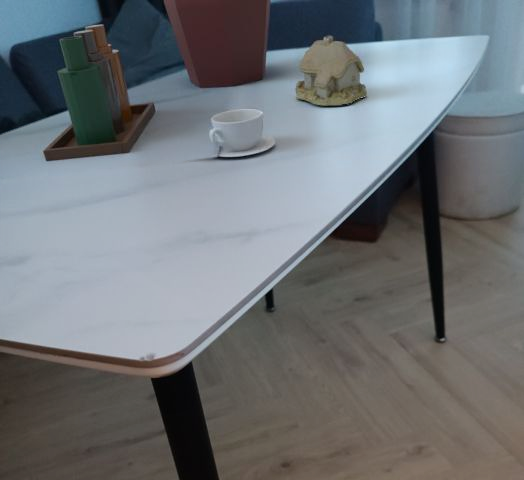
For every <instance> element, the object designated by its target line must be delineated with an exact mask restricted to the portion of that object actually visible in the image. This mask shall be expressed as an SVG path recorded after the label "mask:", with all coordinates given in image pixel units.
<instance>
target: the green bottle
mask: <svg viewBox="0 0 524 480" xmlns="http://www.w3.org/2000/svg"><path fill="white" fill-rule="evenodd" d="M59 44H60V49H61V51H62V55H63V58H64V63H65V66H66V67H65V68H61V69H59V70H57V74H58V78H59V81H60V85H61V88H62V89H61V90H62V93H63V96H64V100H65V104H66V107H67V111H68V115H69V119H70V121H71V124H72V126H73V129H74V133H75V137H76V140H77V143H78V146H83V145H93V144H103V143H113V142H117V140H116V134H115V130H114V126H113V121H112V117H111V113H110V109H109V104H108V100H107V96H106V91H105V87H104V83H103V79H102V74H101V70H100V66H99V65H98V64H89V61H88V57H87V53H86V49H85V45H84V41H83V37H82V36H74V35H73V36H68V37H63V38H60V39H59Z"/></svg>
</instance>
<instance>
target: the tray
mask: <svg viewBox="0 0 524 480" xmlns="http://www.w3.org/2000/svg"><path fill="white" fill-rule="evenodd" d="M130 105H131V110H132V114H133V120H132V121H130V122H127V123H124V124H125V128H126V129H125V131H123V132H121V133H119V134H116V140H117V142H113V143H103V144H93V145H83V146H78V143H77V140H76V137H75V133H74V129H73V126H72V123H71V124H70V125H69V126H68V127H67V128H65V130H63V131H62V132H61V133H60V134H59V135H58V136H57V137H56V138H54V140H53V141H52V142H51V143H49V144H48V145H47V146H46V147H45V148H44V150H43V151H42V152H43V155H44V160H45V161H46V162H53V161H62V160H63V161H65V160H72V159H73V160H74V159H83V158H94V157H103V156H112V155H113V156H114V155H123V154H129V153H130V152H131V150H132V149H133V147H134V145H135V144H136V142H137V141H138V139H139V138H140V137H141V135H142V133H143V132H144V130H145V129H146V127H147V126H148V124H149V123H150V121H151V119H152V118H153V116H154V115H155V113H156V106H155V102H147V103H146V102H145V103H137V104H130Z"/></svg>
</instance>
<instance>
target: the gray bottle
mask: <svg viewBox="0 0 524 480" xmlns="http://www.w3.org/2000/svg"><path fill="white" fill-rule="evenodd" d="M74 36H82V37H83V41H84V45H85V49H86V53H87V57H88V61H89V64H98V65H99V66H100V70H101V74H102V79H103V83H104V87H105V91H106V96H107V100H108V104H109V109H110V113H111V117H112V121H113V126H114V130H115V134H119V133H121V132H123V131H125V129H126V128H125V124H124V120H123V115H122V111H121V106H120V102H119V97H118V93H117V88H116V84H115V79H114V75H113V71H112V66H111V62H110V58H109V57H106V56H103V55H102V52H101V51H98V48H97V44H96V39H95V35H94V31H93V30H86V29H85V30H79V31H75V32H73V37H74Z"/></svg>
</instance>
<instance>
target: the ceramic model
mask: <svg viewBox="0 0 524 480" xmlns="http://www.w3.org/2000/svg"><path fill="white" fill-rule="evenodd" d="M299 71H300V72H301V73H303V80H299V81H298V82H296V84H295V89H294V90H295V96H296V99H298V100H302V101H303V100H304V101H306V102H308V103H311V104H313V105H318V106H343V105H342V104H347V105H349V104H348V103H351V104H352V102H353V101H354V102H356V101H355V100H356V99H358V98H361V97H364V96H366V97H367V89H366V85H365V84H364V83H361V73H364V72H365V68H364V64H363V62H362V60H361V59H360V58H359V56H358V55H357V54H355V53H354V52H353V51H352V50H351V49H350V48H349V46H348V45H347V43H346V42H343V41H338V40H334V37H333V35H325V36H324V37H323V39H318V40H316V41H313V44H311V46H310V47H309V48H308V49H307V50H305V51H304V54H303V56H302V58H301V60H300V64H299ZM354 102H353V103H354Z"/></svg>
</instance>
